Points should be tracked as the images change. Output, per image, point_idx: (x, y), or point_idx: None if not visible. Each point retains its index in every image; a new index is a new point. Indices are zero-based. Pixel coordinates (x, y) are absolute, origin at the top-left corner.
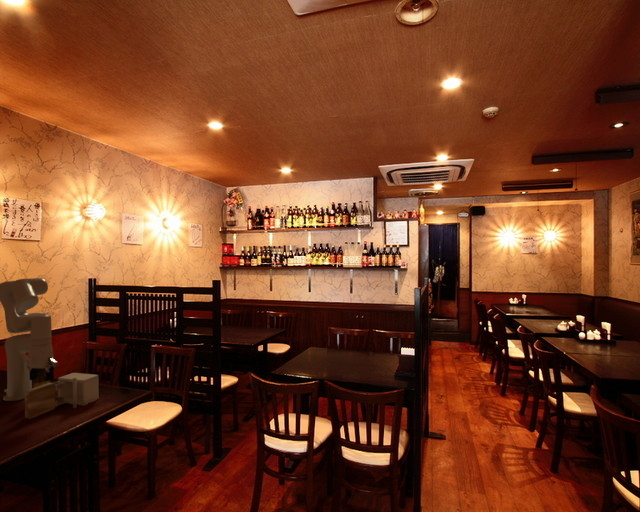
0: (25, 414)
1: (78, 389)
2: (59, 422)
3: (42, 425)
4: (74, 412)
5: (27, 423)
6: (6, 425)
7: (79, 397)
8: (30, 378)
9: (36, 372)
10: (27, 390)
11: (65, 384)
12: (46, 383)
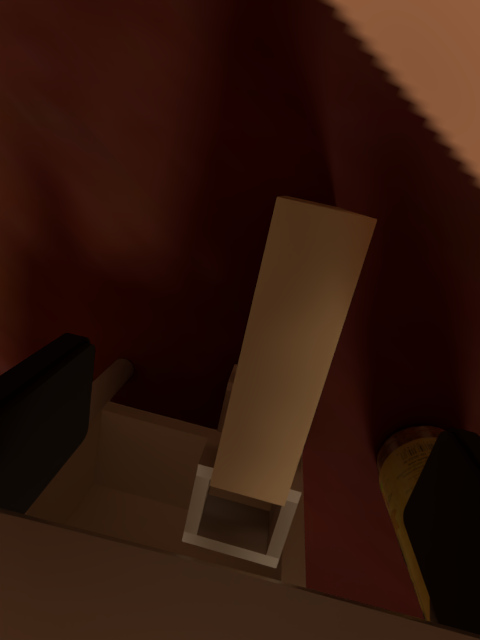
0: (333, 206)
1: (212, 554)
2: (29, 146)
3: (102, 91)
4: (66, 300)
5: (241, 118)
6: (382, 72)
7: (187, 489)
8: (466, 444)
9: (448, 603)
10: (355, 244)
11: (270, 575)
12: (421, 576)
